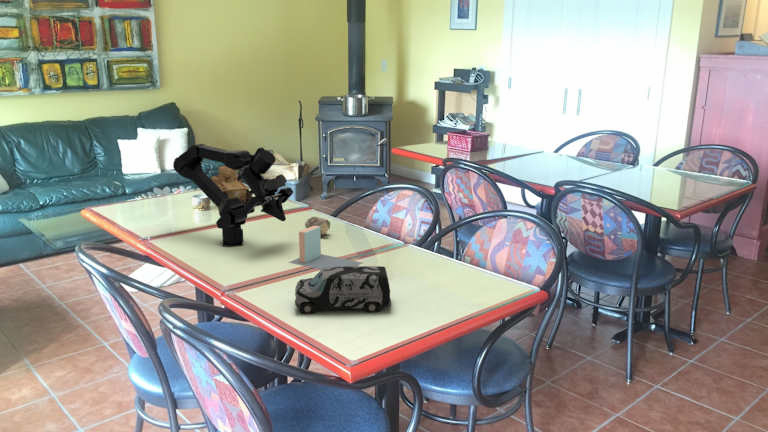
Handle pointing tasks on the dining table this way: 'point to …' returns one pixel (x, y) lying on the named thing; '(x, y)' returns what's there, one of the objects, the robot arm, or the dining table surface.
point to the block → (309, 244)
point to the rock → (318, 224)
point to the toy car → (344, 289)
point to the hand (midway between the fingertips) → (284, 220)
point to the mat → (326, 262)
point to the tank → (231, 184)
